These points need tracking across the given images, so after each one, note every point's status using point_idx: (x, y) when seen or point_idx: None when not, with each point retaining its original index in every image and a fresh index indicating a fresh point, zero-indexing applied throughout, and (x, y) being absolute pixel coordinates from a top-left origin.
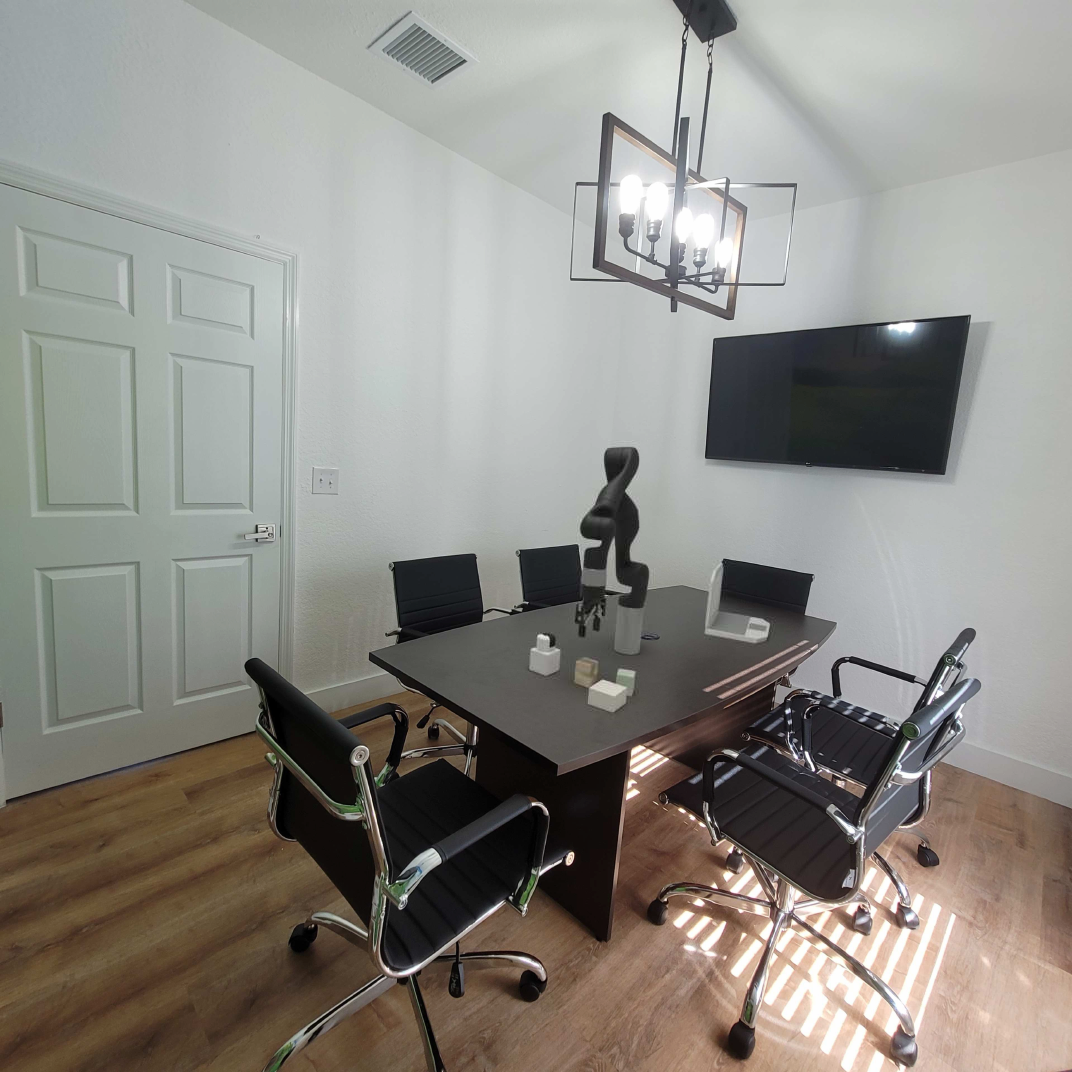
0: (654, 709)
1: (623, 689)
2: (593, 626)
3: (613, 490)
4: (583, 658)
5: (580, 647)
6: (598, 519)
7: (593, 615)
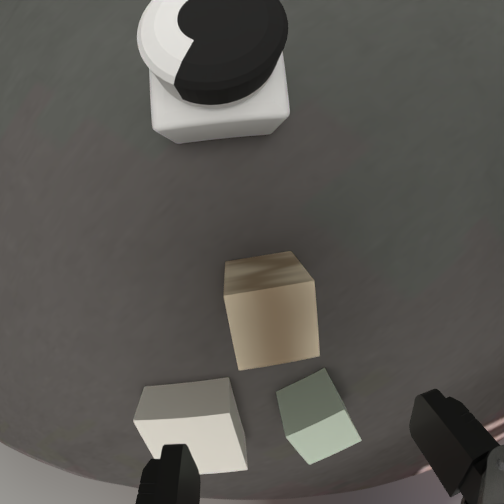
0: (274, 472)
1: (225, 471)
2: (433, 416)
3: None
4: (294, 290)
5: (486, 70)
6: None
7: (481, 494)
